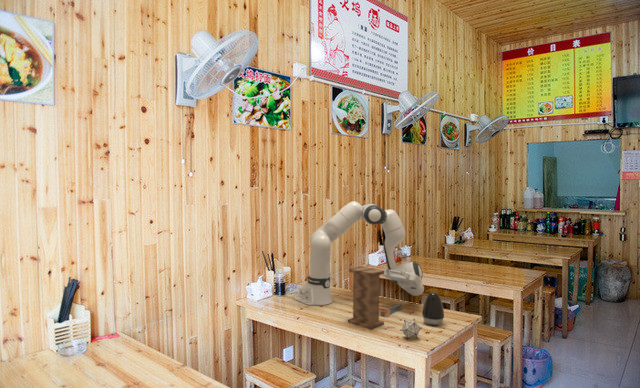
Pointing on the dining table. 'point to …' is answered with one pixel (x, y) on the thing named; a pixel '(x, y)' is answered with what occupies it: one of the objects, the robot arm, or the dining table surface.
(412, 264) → the robot arm
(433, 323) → the pump dispenser
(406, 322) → the game die
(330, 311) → the dining table surface
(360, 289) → the walnut stand
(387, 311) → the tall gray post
